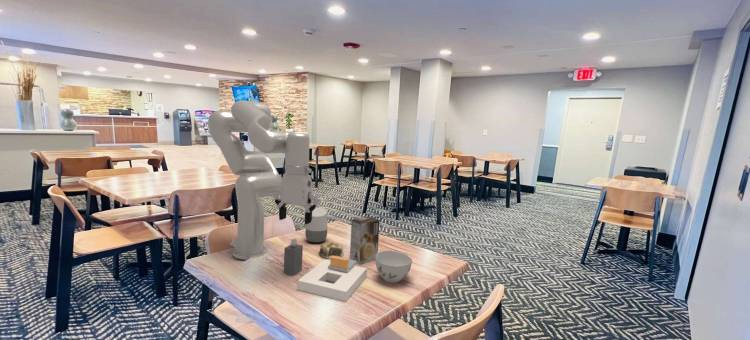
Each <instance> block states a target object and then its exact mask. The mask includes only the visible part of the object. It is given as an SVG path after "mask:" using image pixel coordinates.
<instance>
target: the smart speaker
mask: <svg viewBox="0 0 750 340" xmlns="http://www.w3.org/2000/svg"><path fill="white" fill-rule="evenodd" d="M304 233H305V234H304V235H305V239H306V241H308V242H309V243H314V244H319V243H322V242H325V241H326V239H327V237H328V211H327V209H325V208H323V207H318V206H317V207H316V208H315V209H314V211H312V221H311V223H309V224H305V232H304Z"/></svg>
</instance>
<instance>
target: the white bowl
mask: <svg viewBox="0 0 750 340" xmlns="http://www.w3.org/2000/svg"><path fill="white" fill-rule="evenodd" d="M374 261H375V267H376V270H377V272H378V274H379V275H380V277H381V278H382V279H383V280H384V281H385V282H386V283H390V284H395V283H400V282H401V280H403V279H404V278H405V277H406V276H407V275H408V274H409V272H410V270H411V267H412V264H413V259H412V257H411V256H409V255H408V254H407V253H404V252H401V251H395V250H382V251H378V253H377V254H376V256H375V260H374Z"/></svg>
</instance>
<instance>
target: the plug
mask: <svg viewBox="0 0 750 340" xmlns="http://www.w3.org/2000/svg"><path fill="white" fill-rule="evenodd" d="M297 242H298V239H296V238H292V239H291V241H290V243H291V244H289V245H288V246H285V247H284V249H283V257H284V258H283V274H284V275H288V276H293V277H294V276H296V275H297V274H298V273H301V271H302V270H303V251H304V249H303V248H304V246H303V244H298V243H297Z"/></svg>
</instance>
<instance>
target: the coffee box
mask: <svg viewBox="0 0 750 340" xmlns="http://www.w3.org/2000/svg"><path fill="white" fill-rule="evenodd" d="M380 222H381V221H380V219H377V218H374V217H372V216H366V217H365V216H364V217H358V218H354V219H353V218H352V219H351V225H350V226H351V228H350V247H349V248H350V249H349V259H350V260H355V261H357V263H356V265H357V264H358V265H360V266H361V265H363V264H366V263H369V262H373V261H375V256H376V254H377V253H379V237H380Z"/></svg>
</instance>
